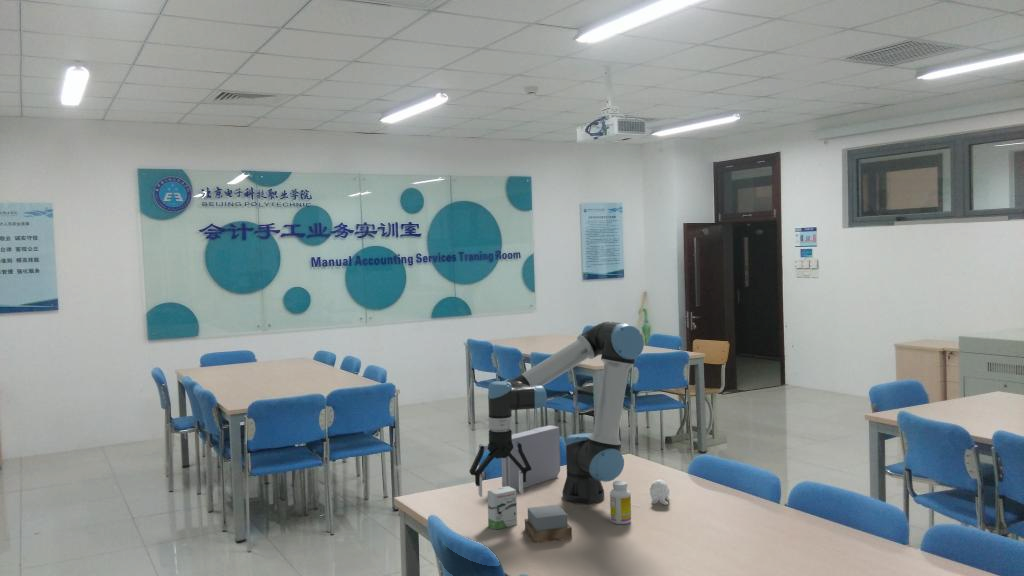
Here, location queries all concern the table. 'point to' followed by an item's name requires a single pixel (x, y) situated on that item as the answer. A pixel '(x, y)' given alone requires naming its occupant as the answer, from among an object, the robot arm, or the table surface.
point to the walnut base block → (548, 533)
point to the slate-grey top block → (547, 517)
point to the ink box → (502, 507)
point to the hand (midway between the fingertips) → (500, 493)
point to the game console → (534, 457)
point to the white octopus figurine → (659, 492)
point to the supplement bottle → (620, 503)
